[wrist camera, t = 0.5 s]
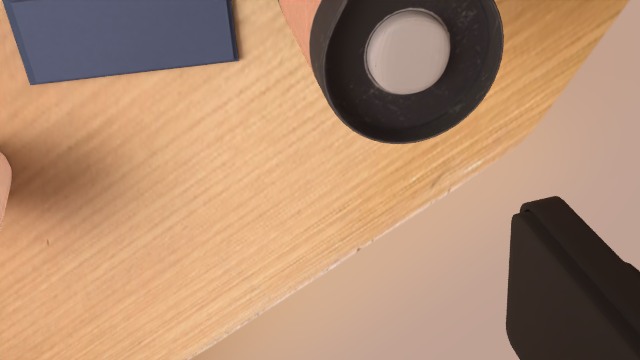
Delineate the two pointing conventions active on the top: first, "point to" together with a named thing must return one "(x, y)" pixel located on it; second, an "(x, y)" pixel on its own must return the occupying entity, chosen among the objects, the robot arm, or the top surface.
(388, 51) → the travel mug
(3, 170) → the cream tapered cup
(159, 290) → the top surface
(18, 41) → the blue flat rectangular slab
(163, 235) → the top surface
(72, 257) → the top surface
